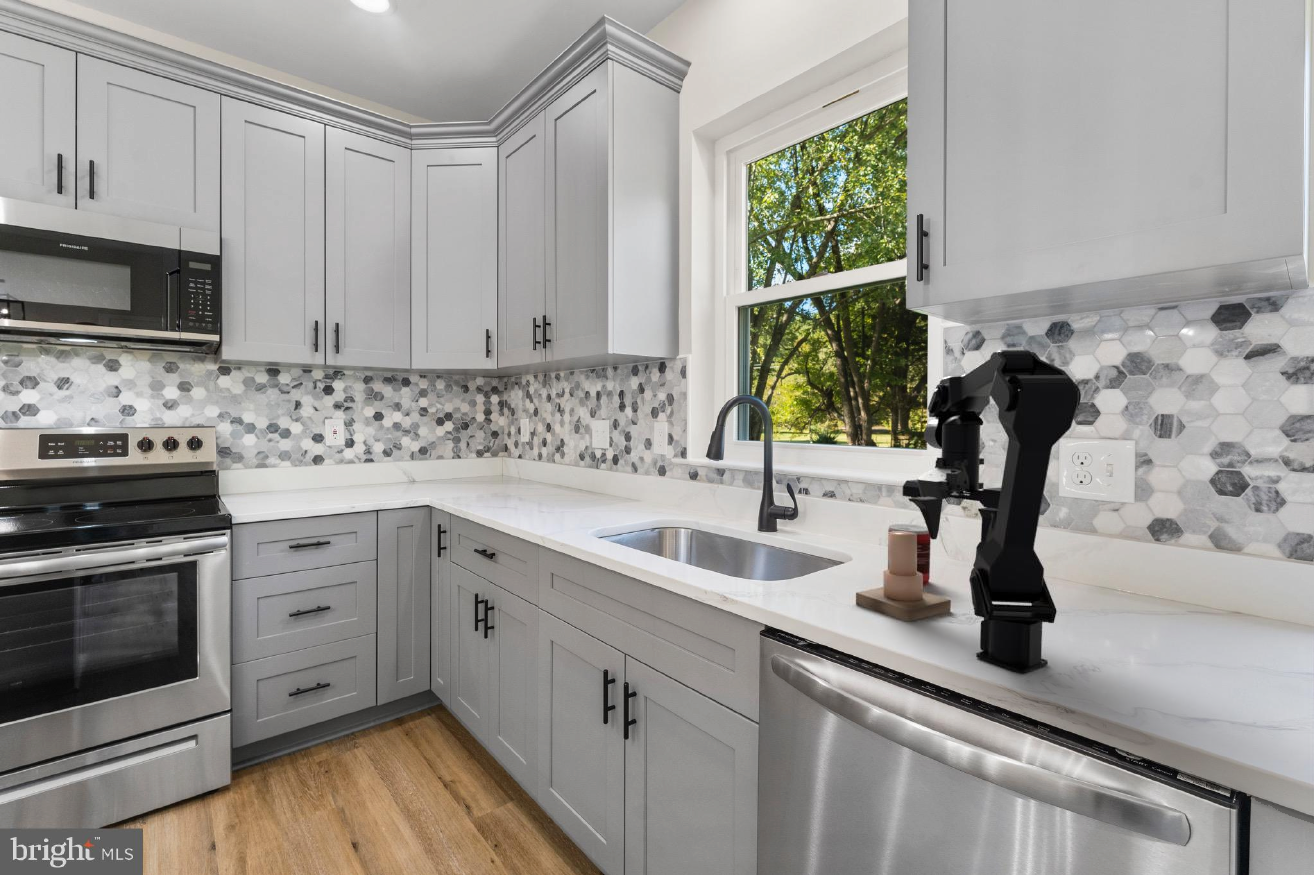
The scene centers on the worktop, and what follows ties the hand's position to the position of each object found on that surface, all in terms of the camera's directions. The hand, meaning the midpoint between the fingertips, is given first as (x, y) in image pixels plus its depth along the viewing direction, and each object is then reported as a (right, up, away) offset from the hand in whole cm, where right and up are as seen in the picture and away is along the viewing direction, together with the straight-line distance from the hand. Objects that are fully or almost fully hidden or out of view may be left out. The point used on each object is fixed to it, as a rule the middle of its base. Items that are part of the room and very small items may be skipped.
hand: (958, 544), depth 102 cm
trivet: (-8, -12, +4) cm, 15 cm away
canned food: (0, -12, +21) cm, 24 cm away
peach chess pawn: (-8, -10, +4) cm, 13 cm away
